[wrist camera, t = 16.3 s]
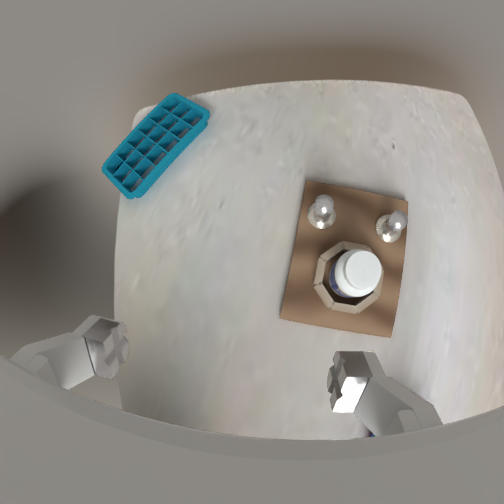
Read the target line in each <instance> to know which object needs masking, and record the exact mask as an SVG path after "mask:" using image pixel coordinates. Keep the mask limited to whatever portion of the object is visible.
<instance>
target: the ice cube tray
mask: <svg viewBox="0 0 504 504" xmlns="http://www.w3.org/2000/svg"><path fill="white" fill-rule="evenodd" d="M175 106H177V107H176V108H175V109H174V110H173V111H172V112H169V111H170V110H171V109H172V108H174V107H175ZM186 111H188V113H186V114H185V115H184V116H183V117H182V118H181V119H180V118H179V117H180V116H181V115H183V114H184V113H185V112H186ZM165 115H166V117H165V118H164V119H163V120H162V121H161V122H160V123H159V124H158V122H159V121H160V120H161V119H162V118H163V117H164V116H165ZM196 117H198V118H200V119H201V120H200V121H199V122H198V123H197V124H196V125H195V126H194V127H193V126H191V125H190V123H191V122H192V121H193V120H194V119H195V118H196ZM209 117H210V113H209V111H208V110H206V109H205V108H203V107H201V106H199V105H197V104H196V103H194V102H192V101H190V100H188V99H186V98H185V97H183V96H181V95H178V94H177V93H172V94H170V95H168V96H167V97H166V98H165V99H164V100H163V101H161V102H160V103H159V104H158V105H157V106H156V107H155V108H154V109H153V110H152V111H151V112H150V113H149V114H148V115H147V116H146V117H145V118H144V119H143V120H142V121H141V122H140V123H139V124H138V125H137V126H136V127H135V129H134V130H133V131H132V132H131V133H130V134H129V135H128V136H127V137H126V139H124V141H123V142H122V143H121V144H120V145H119V146H118V147H117V148H116V150H115V151H114V152H113V153H112V154H111V156H110V157H109V158H108V159H107V160H106V161H105V163H104V164H103V167H102V172H103V173H104V174H105V175H106V176H107V177H108V178H109V179H110V181H111V182H112V183H113V184H114V185H115V186H116V187H117V188H118V189H119V190H120V191H121V192H122V193H123V194H124V196H125V197H126V198H128V199H133V198H135V197H136V198H139V197H141V196H143V195H144V194H145V193H146V192H147V191H148V189H149V188H150V187H151V186H152V185H153V183H154V182H155V181H156V180H157V179H158V178H159V177H160V175H161V174H162V173H163V172H164V171H165V170H166V169H167V168H168V167H169V165H170V164H171V163H172V162H173V161H174V160H175V159H176V158H177V157H178V156H179V155H180V154H181V152H182V151H183V150H184V149H185V148H186V147H187V146H188V145H189V144H190V143H191V142H192V141H193V140H194V139H195V138H196V137H197V136H198V135H199V134H200V133H201V132H202V131H203V130H204V129H205V128H206V126H207V125H208V124H207V120H208V119H209ZM175 121H176V122H177V123H176V124H175V125H174V126H173V127H172V128H171V129H170V130H169V131H168V130H167V129H168V128H169V127H170V126H171V125H172V124H173V123H174V122H175ZM154 126H155V128H154V130H153V131H152V132H151V133H150V134H149V135H148V136H146V134H147V133H148V132H149V131H150V130H151V129H152V128H153V127H154ZM185 128H187V129H188V130H190V131H189V132H188V133H187V134H186V135H185V136H184V137H183V138H182V139H180V138H178V137H177V136H178V135H179V134H180V133H181V132H182V131H183V130H184V129H185ZM163 133H166V134H165V135H164V136H163V137H162V138H161V140H160V141H159V142H158V143H155V142H156V141H157V140H158V139H159V138H160V137H161V136H162V134H163ZM143 137H144V138H145V139H144V140H143V141H142V142H141V143H140V144H139V146H138V147H137V148H136V149H135V148H134V147H135V146H136V145H137V144H138V143H139V142H140V141H141V140H142V139H143ZM173 140H176V141H177V142H178V143H177V144H176V145H175V146H174V147H173V148H172V149H171V150H170V151H169V152H167V151H166V150H165V149H166V148H167V147H168V146H169V144H170V143H171V142H172V141H173ZM152 145H155V146H154V147H153V148H152V149H151V150H150V151H149V152H148V154H147V155H146V156H144V154H145V153H146V152H147V150H148V149H149V148H150V147H151V146H152ZM133 149H134V151H133V152H132V153H131V154H130V156H129V157H128V158H127V159H126V156H127V155H128V154H129V153H130V152H131V151H132V150H133ZM162 152H164V153H165V154H166V156H165V157H164V158H163V159H162V160H161V161H160V162H159V163H158V164H157V166H155V165H154V164H153V162H154V161H155V160H156V158H157V157H158V156H159V155H160V154H161V153H162ZM141 157H143V159H142V160H141V161H140V162H139V164H138V165H137V166H136V167H135V168H134V169H132V167H133V166H134V165H135V164H136V163H137V162H138V161H139V159H140V158H141ZM151 164H152V165H153V166H154V167H155V168H154V169H153V170H152V171H151V172H150V174H149V175H148V176H147V177H146V178H145V179H143V178H142V177H141V175H142V174H143V173H144V172H145V171H146V170H147V169H148V167H149V166H150V165H151ZM130 170H132V172H131V173H130V174H129V175H128V176H127V178H126V179H125V180H124V181H122V179H123V178H124V177H125V176H126V175H127V173H128V172H129V171H130ZM139 178H141V179H142V180H143V182H142V183H141V184H140V185H139V186H138V188H137V189H136V190H135V191H133V192H132V191H131V190H130V189H131V187H132V186H133V185H134V184H135V183H136V181H137V180H138V179H139Z"/></svg>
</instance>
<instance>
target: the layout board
mask: <svg viewBox="0 0 504 504" xmlns="http://www.w3.org/2000/svg"><path fill="white" fill-rule="evenodd" d="M320 195H328V196H330V197H331V198H332V199H333V201H334V207H333V208H334V210H335V213H336V218H335V221H334V223H333V225H332V226H331V227H329V228H327V229H317V228H315V227H313V226H312V225H311V224H310V223H309V221H308V217H307V214H308V209H309V207H310V206H311V205H312V204H314V203H315V201H316V198H317V197H318V196H320ZM396 210H401V211H403V212H404V213H405V214H406V215H407V218H408V201H404V200H400V199H396V198H392V197H388V196H383V195H379V194H374V193H370V192H365V191H361V190H356V189H351V188H346V187H341V186H336V185H330V184H325V183H319V182H313V181H307V180H306V183H305V189H304V195H303V201H302V207H301V212H300V218H299V224H298V229H297V234H296V240H295V245H294V250H293V255H292V261H291V266H290V271H289V276H288V280H287V285H286V290H285V295H284V300H283V304H282V309H281V314H280V319H284V320H289V321H294V322H299V323H305V324H310V325H315V326H321V327H326V328H332V329H337V330H343V331H349V332H355V333H362V334H368V335H375V336H382V337H389V338H391V335H392V330H393V326H394V321H395V316H396V310H397V305H398V299H399V293H400V286H401V279H402V272H403V264H404V255H405V245H406V233H407V225H406V226H405V227H404V228H403V229H402V230H401V235H400V237H399V238H398V239H397V240H396V241H395V242H392V243H386V242H384V241H382V240H381V239H380V238H379V237H378V236H377V234H376V230H375V226H376V222H377V221H378V219H379V218H380V217H382V216H384V215H391V214H392V213H393V212H394V211H396ZM353 249H362V250H366V251H369V252H371V253H373V254H374V255H375V256H376V257H377V258H378V259H379V261H380V264H381V269H382V271H381V276H380V279H379V282H378V284H377V286H376V287H375V289H374V290H373V291H372V292H370V293H369V294H367V295H364V296H360V297H350V298H347V297H342V296H339V295H338V294H336V293H335V292H334V291H333V290H332V288H331V286H330V284H329V272H330V269H331V267H332V266H333V264H334V263H335V262H336V261H337V260H338V259H339V258H340V257H341V256H342V255H343V254H344V253H346V252H348V251H350V250H353Z"/></svg>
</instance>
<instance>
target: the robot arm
mask: <svg viewBox="0 0 504 504" xmlns="http://www.w3.org/2000/svg"><path fill="white" fill-rule="evenodd" d="M126 332H127V331H126V325H125V324H124V323H123V322H119V321H115V320H112V319H108V318H104V317H100V316H96V315H91V316H89V317H88V318H87V319H86V320H85V321H84V322H83V323H82V324H81V325H80V326H79V327H78V328H77V329H76V330H74V331H73V332H72V333H65V334H62V335H59V336H55V337H52V338H49V339H45V340H42V341H39V342H35V343H32V344H28V345H25V346H23V347H22V348H21V349H20V350H19V351H18V352H17V353H15V354H14V355H13V356H12V357H11V358H10V359H8V358H6V357H4V356H3V355H1V354H0V504H504V406H501V407H499V408H496V409H494V410H491V411H488V412H485V413H482V414H479V415H476V416H473V417H470V418H466V419H463V420H459V421H456V422H452V423H448V424H444V425H443V424H442V422H441V420H440V418H439V416H438V414H437V412H436V410H435V408H434V406H433V405H432V404H431V403H429V402H427V401H426V400H424V399H423V398H421V397H420V396H418V395H417V394H415V393H414V392H412V391H411V390H409V389H408V388H406V387H405V386H403V385H402V384H400V383H399V382H397V381H396V380H394V379H393V378H391V377H386V375H385V373H384V371H383V368H382V366H381V364H380V362H379V360H378V358H377V356H376V354H375V352H374V351H336V352H335V354H334V357H333V362H334V365H333V366H332V367H331V368H330V370H329V373H328V378H327V388H328V392H330V393H331V394H332V395H331V398H330V403H331V408H332V412H354V414H355V415H356V416H357V417H358V418H359V419H360V420H361V422H362V423H363V424H364V425H365V426H366V427H367V428H368V429H369V430H370V431H371V432H372V433H373V434H374V435H375V437H365V438H353V439H336V440H287V439H269V438H256V437H246V436H238V435H230V434H223V433H216V432H210V431H204V430H198V429H193V428H188V427H183V426H179V425H174V424H170V423H166V422H162V421H158V420H154V419H150V418H146V417H143V416H139V415H136V414H133V413H129V412H126V411H123V410H120V409H117V408H114V407H111V406H108V405H105V404H102V403H100V402H97V401H94V400H92V399H89V398H87V397H84V396H82V395H79V394H77V393H75V392H72V391H70V390H68V389H70V388H72V387H74V386H76V385H77V384H79V383H81V382H83V381H85V380H87V379H89V378H90V377H92V376H94V375H95V374H96V375H99V376H102V377H106V378H109V379H113V378H114V376H115V375H116V373H117V372H118V371H119V364H122V363H124V362H125V360H126V359H127V356H128V353H129V343H128V340H127V339H126V337H125V336H124V335H125V334H126Z"/></svg>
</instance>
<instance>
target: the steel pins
mask: <svg viewBox="0 0 504 504" xmlns="http://www.w3.org/2000/svg"><path fill="white" fill-rule="evenodd" d="M333 207H334V201H333V199H332V198H331V197H330V196H328V195H320V196H318V197H317V198H316V201H315V203H314V204H312V205H311V206H310V207H309V209H308V214H307V217H308V221H309V223H310V224H311V225H312V226H313V227H315V228H317V229H327V228H329V227H331V226H332V225H333V223H334V221H335V218H336V213H335V210H334V208H333ZM407 223H408V218H407V215H406V214H405V213H404V212H403V211H401V210H396V211H394V212H393V213H392V214H391V215H384V216H382V217H380V218H379V219H378V221H377V222H376V226H375V230H376V234H377V236H378V237H379V238H380V239H381V240H382V241H384V242H386V243H392V242H395V241H396V240H397V239H398V238H399V237H400V235H401V230H402V229H403V228H404V227H405V226H406V225H407Z"/></svg>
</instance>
